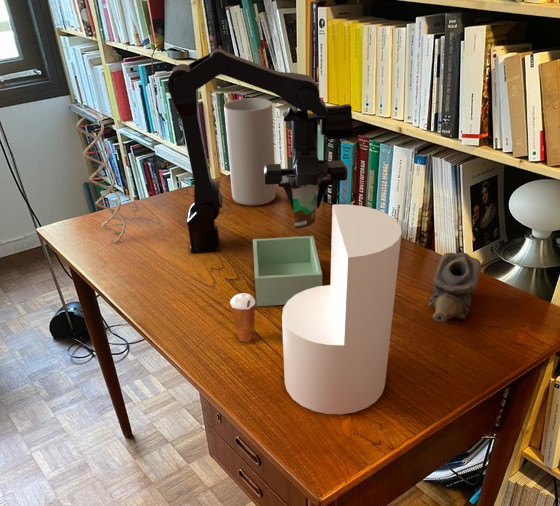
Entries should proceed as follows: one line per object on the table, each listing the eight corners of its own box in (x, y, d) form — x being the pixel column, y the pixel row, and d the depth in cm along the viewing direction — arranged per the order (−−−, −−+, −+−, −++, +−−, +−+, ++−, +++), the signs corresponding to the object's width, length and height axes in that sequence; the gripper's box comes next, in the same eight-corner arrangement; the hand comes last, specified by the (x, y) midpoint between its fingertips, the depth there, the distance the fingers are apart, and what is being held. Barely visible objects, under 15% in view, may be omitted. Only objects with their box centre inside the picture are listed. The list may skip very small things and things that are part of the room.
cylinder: (375, 347, 104) (388, 201, 86) (394, 411, 90) (414, 253, 73) (282, 352, 104) (276, 207, 86) (287, 417, 90) (281, 260, 73)
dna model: (106, 232, 147) (76, 110, 128) (131, 231, 147) (104, 108, 128) (101, 244, 141) (68, 118, 122) (126, 243, 141) (98, 116, 122)
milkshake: (242, 349, 105) (237, 303, 99) (230, 335, 109) (225, 290, 102) (263, 342, 106) (260, 296, 100) (251, 328, 110) (247, 283, 104)
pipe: (473, 291, 118) (482, 248, 111) (475, 353, 102) (485, 306, 95) (429, 287, 120) (436, 244, 113) (424, 347, 103) (431, 300, 97)
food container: (321, 230, 131) (319, 188, 124) (294, 231, 131) (292, 190, 125) (319, 208, 140) (318, 168, 134) (294, 210, 140) (292, 170, 134)
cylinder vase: (228, 206, 157) (218, 110, 141) (238, 189, 167) (230, 98, 151) (271, 207, 155) (267, 111, 140) (279, 190, 165) (275, 98, 149)
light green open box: (256, 306, 116) (254, 278, 112) (254, 265, 130) (253, 239, 126) (322, 302, 117) (322, 274, 112) (313, 262, 130) (313, 235, 126)
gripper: (264, 154, 117) (267, 224, 127) (352, 149, 118) (349, 220, 128) (262, 138, 126) (265, 205, 136) (344, 134, 126) (342, 201, 136)
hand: (305, 208), depth 134 cm, fingers closed on food container, 5 cm apart
